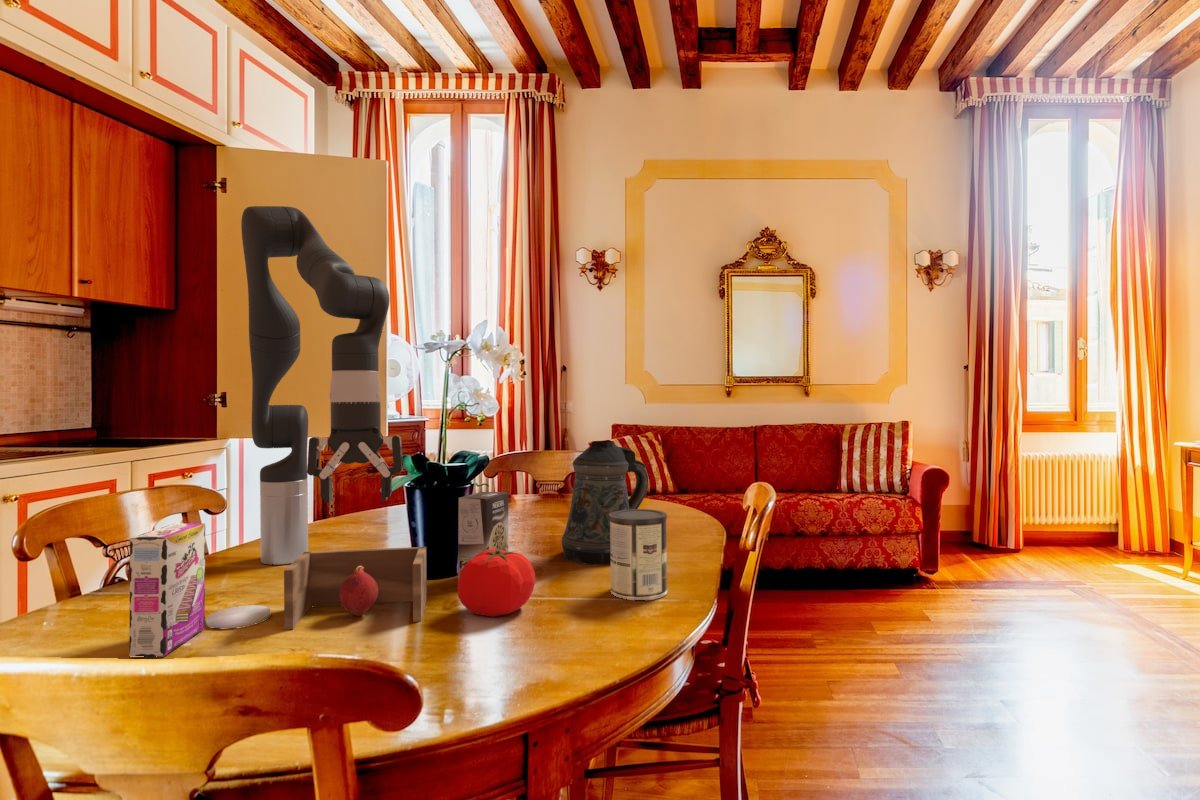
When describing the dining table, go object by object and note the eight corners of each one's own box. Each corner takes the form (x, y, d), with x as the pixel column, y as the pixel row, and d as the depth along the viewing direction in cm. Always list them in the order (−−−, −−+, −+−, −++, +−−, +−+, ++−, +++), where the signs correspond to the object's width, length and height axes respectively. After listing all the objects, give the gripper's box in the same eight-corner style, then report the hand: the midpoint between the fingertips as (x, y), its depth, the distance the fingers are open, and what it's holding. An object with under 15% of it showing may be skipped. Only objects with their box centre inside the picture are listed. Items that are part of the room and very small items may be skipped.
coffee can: (634, 580, 127) (634, 506, 127) (678, 591, 120) (678, 513, 120) (597, 592, 120) (597, 514, 120) (642, 605, 113) (642, 521, 113)
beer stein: (546, 558, 145) (545, 442, 145) (597, 541, 161) (597, 437, 161) (609, 569, 136) (609, 445, 135) (657, 550, 152) (657, 439, 151)
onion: (365, 623, 104) (365, 572, 104) (332, 621, 105) (331, 570, 105) (384, 611, 110) (384, 562, 110) (352, 609, 111) (352, 561, 111)
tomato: (452, 606, 112) (451, 545, 112) (525, 597, 117) (525, 538, 117) (466, 628, 102) (466, 560, 102) (546, 617, 107) (545, 552, 107)
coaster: (218, 611, 110) (218, 607, 110) (277, 608, 112) (277, 603, 112) (196, 631, 101) (196, 625, 101) (260, 627, 103) (260, 621, 103)
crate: (304, 605, 113) (304, 552, 113) (426, 598, 117) (426, 546, 117) (284, 629, 101) (283, 570, 101) (421, 621, 105) (420, 564, 105)
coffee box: (487, 585, 125) (486, 498, 124) (457, 582, 127) (456, 496, 127) (510, 573, 133) (509, 491, 133) (481, 570, 135) (481, 490, 135)
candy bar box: (166, 658, 91) (165, 537, 91) (127, 659, 90) (126, 538, 90) (208, 629, 102) (206, 521, 102) (173, 630, 102) (172, 522, 101)
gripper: (404, 399, 112) (405, 496, 112) (314, 400, 110) (315, 499, 110) (399, 399, 105) (400, 503, 105) (302, 400, 102) (303, 506, 102)
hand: (356, 501), depth 107 cm, fingers open, 8 cm apart
